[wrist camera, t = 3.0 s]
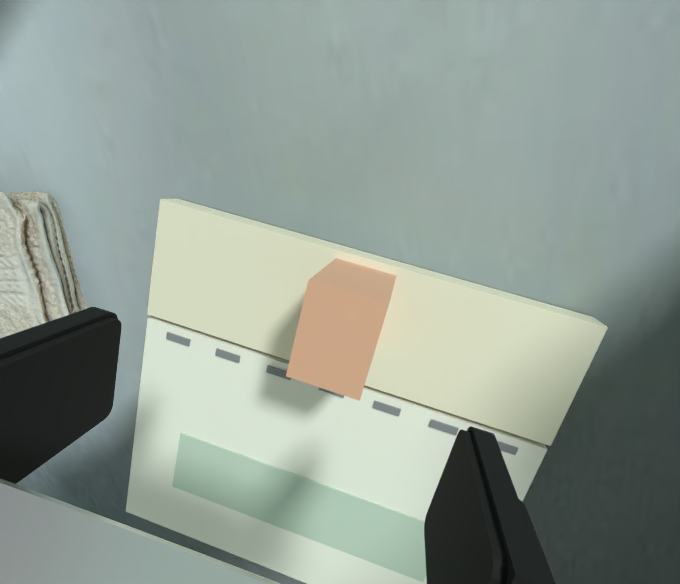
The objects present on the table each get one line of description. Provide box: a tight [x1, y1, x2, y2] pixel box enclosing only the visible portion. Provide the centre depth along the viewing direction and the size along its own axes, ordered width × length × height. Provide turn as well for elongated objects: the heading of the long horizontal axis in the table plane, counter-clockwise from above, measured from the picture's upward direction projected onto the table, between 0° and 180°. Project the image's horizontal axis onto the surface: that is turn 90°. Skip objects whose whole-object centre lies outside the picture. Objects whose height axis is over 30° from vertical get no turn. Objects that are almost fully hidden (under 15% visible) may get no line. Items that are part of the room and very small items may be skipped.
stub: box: [147, 199, 608, 446], centre depth 18 cm, size 22×6×6 cm, turn 76°
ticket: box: [126, 316, 547, 584], centre depth 23 cm, size 22×14×2 cm, turn 75°
